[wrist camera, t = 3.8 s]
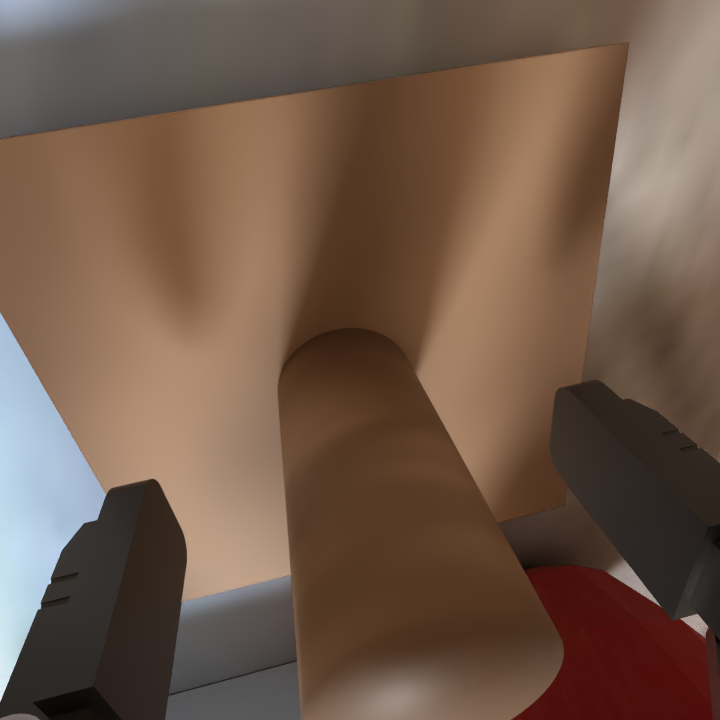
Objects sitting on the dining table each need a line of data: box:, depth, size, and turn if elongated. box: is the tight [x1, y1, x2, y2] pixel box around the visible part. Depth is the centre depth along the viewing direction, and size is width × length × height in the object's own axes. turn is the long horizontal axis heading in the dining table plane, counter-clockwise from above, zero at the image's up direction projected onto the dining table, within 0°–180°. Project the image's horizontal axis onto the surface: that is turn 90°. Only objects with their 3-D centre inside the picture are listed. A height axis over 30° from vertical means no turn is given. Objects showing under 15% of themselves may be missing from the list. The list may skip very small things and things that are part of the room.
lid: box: [0, 43, 629, 720], centre depth 9 cm, size 13×13×8 cm
